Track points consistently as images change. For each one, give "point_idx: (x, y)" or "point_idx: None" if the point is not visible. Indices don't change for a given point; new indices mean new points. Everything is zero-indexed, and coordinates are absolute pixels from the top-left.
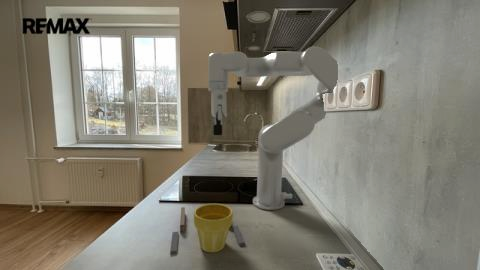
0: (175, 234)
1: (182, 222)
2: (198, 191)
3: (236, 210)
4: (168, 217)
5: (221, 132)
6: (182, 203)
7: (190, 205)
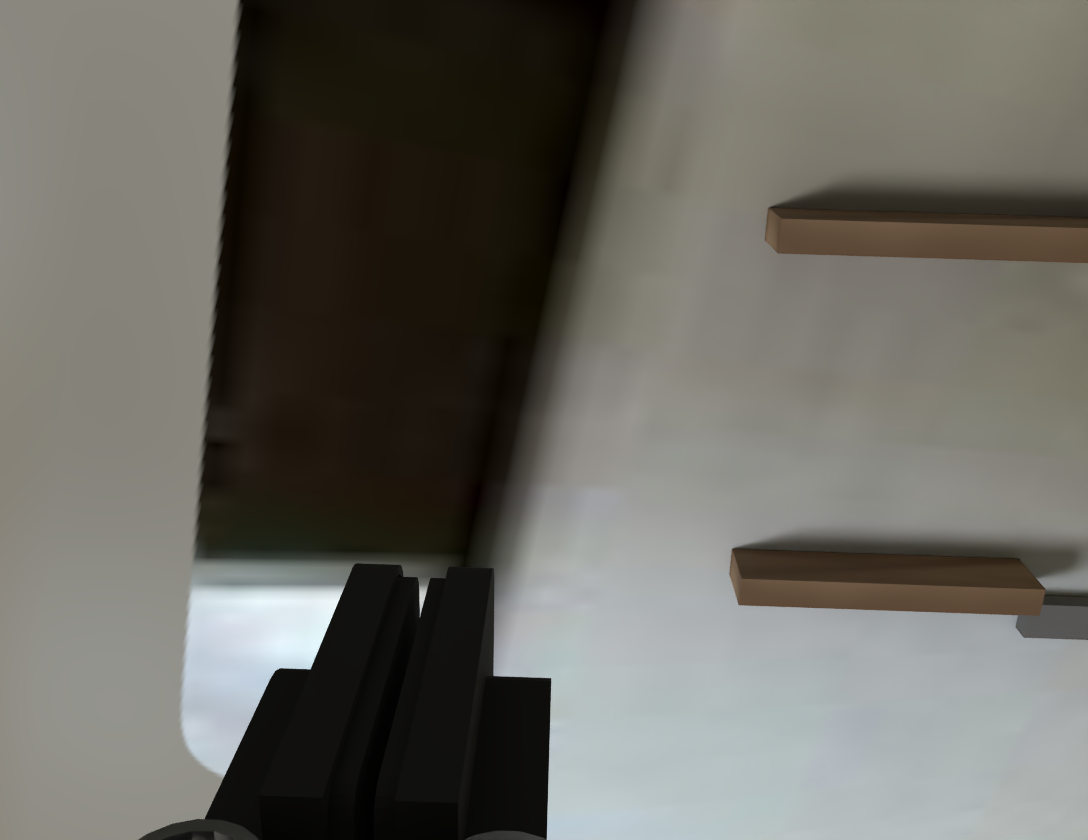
0: (1062, 620)
1: (1007, 599)
2: (227, 405)
3: (798, 83)
4: (754, 658)
5: (487, 621)
6: (515, 562)
7: (574, 499)
